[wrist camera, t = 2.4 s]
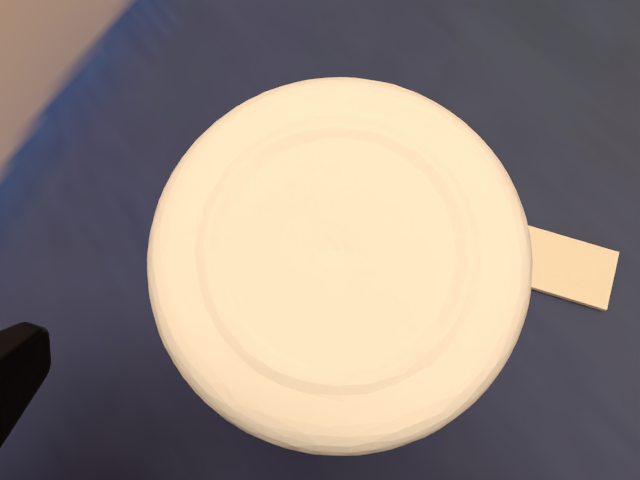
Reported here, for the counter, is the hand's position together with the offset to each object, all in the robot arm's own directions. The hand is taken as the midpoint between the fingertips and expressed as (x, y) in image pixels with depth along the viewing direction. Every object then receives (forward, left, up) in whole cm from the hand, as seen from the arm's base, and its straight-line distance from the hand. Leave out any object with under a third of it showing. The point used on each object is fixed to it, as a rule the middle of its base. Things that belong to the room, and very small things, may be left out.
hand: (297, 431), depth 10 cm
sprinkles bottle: (+2, 0, -10) cm, 10 cm away
